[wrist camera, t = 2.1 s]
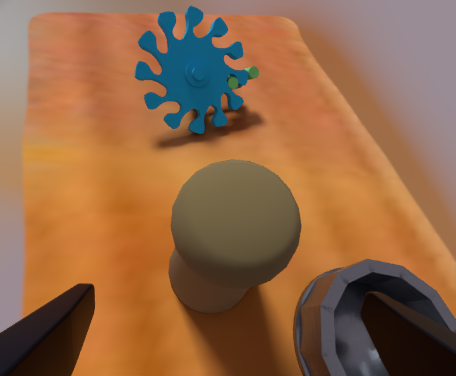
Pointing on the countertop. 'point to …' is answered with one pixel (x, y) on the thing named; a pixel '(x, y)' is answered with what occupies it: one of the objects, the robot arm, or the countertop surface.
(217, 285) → the cork
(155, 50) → the gear
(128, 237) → the countertop surface
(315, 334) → the fitting collar
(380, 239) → the countertop surface
